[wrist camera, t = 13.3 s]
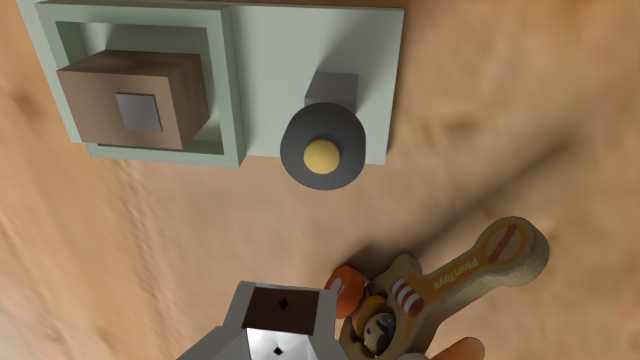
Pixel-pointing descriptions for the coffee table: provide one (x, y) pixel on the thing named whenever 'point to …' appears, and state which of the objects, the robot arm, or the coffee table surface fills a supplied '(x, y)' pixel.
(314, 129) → the wheel knob
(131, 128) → the brown rectangular block
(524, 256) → the toy helicopter
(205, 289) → the coffee table surface
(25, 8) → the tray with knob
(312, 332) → the robot arm
